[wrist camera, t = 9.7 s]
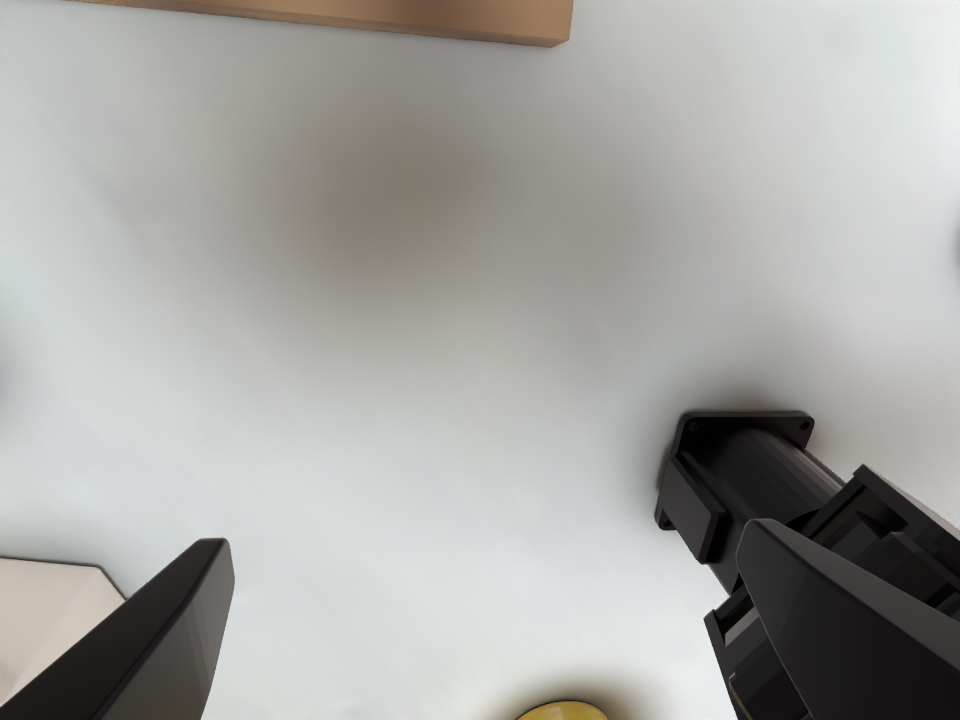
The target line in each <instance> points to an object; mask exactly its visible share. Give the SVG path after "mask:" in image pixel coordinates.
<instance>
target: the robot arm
mask: <svg viewBox="0 0 960 720" xmlns="http://www.w3.org/2000/svg"><path fill="white" fill-rule="evenodd" d="M692 422H695V423H694V425H692V426H690V427H689V425H690V424H691V423H692ZM802 422H803V423H802ZM801 423H802V424H801ZM814 423H815V422H814V419H813V418H812V417H810V416H809V415H808V414H806V413H804V412H692V413H688V414H686V415H684V416H683V417H682V418H681V420H680V422H679V426H678V430H677V434H676V438H675V442H674V446H673V449H672V453H671V456H670V458H669V459H668V462H667V466H666V470H665V474H664V477H663V481H662V485H661V489H660V493H659V497H658V502H659V504H658V508H657V512H656V516H655V521H656V523H657V525H658V526H659V528H660V529H662V530H666V531H667V530H677V531H678V532H679V534H680V535H681V537H682V539H683V540H684V542H685V543H686V545H687V546H688V548H689V549H690V551H691V552H692V554H693V555H694V557H695V558H696V560H697V561H698V562H699V563H700V564H701V565H704V564H708V565H709V567H710V568H711V570H712V571H713V573H714V574H715V576H716V577H717V579H718V580H719V582H720V583H721V585H722V586H723V588H724V589H725V590H726V592H727V593H728V595H729V596H730V597H729V598H728V599H727V600H726V601H725V602H724V603H723V604H722V605H720V606H719V607H718V608H717V609H716V610H714V609H713V610H712V611H711V612H709V613H708V614H707V615H706V616H705V617H704V622H705V625H706V628H707V631H708V634H709V637H710V640H711V643H712V646H713V649H714V652H715V655H716V658H717V661H718V664H719V667H720V670H721V673H722V676H723V679H724V682H725V685H726V688H727V691H728V694H729V697H730V700H731V703H732V705H733V707H734V710H735V713H736V716H737V719H738V720H960V530H958V529H957V528H956V527H954V526H953V525H952V524H950V523H949V522H948V521H946V520H945V519H943V518H942V517H941V516H939V515H938V514H937V513H935V512H934V511H933V510H931V509H930V508H928V507H927V506H925V505H924V504H922V503H921V502H919V501H918V500H916V499H915V498H913V497H912V496H910V495H909V494H907V493H906V492H904V491H903V490H901V489H900V488H898V487H897V486H896V485H894V484H893V483H891V482H890V481H888V480H887V479H885V478H884V477H882V476H881V475H879V474H878V473H876V472H875V471H873V470H872V469H870V468H869V467H867V466H866V465H864V464H862V465H861V466H860V467H859V468H858V469H857V470H856V471H855V472H854V473H853V475H854V477H853V478H852V479H851V480H850V481H849V482H848V483H845V482H844V481H843V480H842V479H841V478H839V477H838V476H837V475H836V474H835V473H834V472H832V471H831V470H830V469H829V468H828V467H826V466H825V465H824V464H823V463H822V462H820V461H819V460H818V459H817V458H816V457H814V456H813V455H812V454H811V453H810V452H808V451H807V450H806V449H805V448H806V446H807V443H808V440H809V438H810V435H811V432H812V430H813V427H814ZM800 424H801V425H800ZM666 519H668V520H666ZM665 520H666V521H665ZM234 583H235V576H234V569H233V563H232V557H231V550H230V545H229V542H228V540H227V539H225V538H203V539H199V540H198V541H196V542H195V543H193V544H192V545H191V546H190V547H189V548H188V549H186V550H185V551H184V552H183V553H182V554H180V555H179V556H178V557H177V558H176V559H175V560H173V561H172V562H171V563H170V564H169V565H167V566H166V567H165V568H164V569H163V570H162V571H160V572H159V573H158V574H157V575H156V576H154V577H153V578H152V579H151V580H150V581H149V582H147V583H146V584H145V585H144V586H143V587H141V588H140V589H139V590H138V591H137V592H136V593H134V594H133V595H132V596H131V597H130V598H128V599H127V600H126V601H125V602H124V603H123V604H121V605H120V606H119V607H118V608H117V609H115V610H114V611H113V612H112V613H111V614H110V615H108V616H107V617H106V618H105V619H104V620H102V621H101V622H100V623H99V624H98V625H97V626H95V627H94V628H93V629H92V630H91V631H89V632H88V633H87V634H86V635H85V636H84V637H82V638H81V639H80V640H79V641H78V642H76V643H75V644H74V645H73V646H72V647H71V648H69V649H68V650H67V651H66V652H65V653H63V654H62V655H61V656H60V657H59V658H57V659H56V660H55V661H54V662H53V663H52V664H50V665H49V666H48V667H47V668H46V669H44V670H43V671H42V672H41V673H40V674H39V675H37V676H36V677H35V678H34V679H33V680H31V681H30V682H29V683H28V684H27V685H26V686H24V687H23V688H22V689H21V690H20V691H18V692H17V693H16V694H15V695H14V696H13V697H11V698H10V699H9V700H8V701H7V702H5V703H4V704H3V705H2V706H1V707H0V720H201V717H202V714H203V711H204V708H205V705H206V702H207V699H208V696H209V693H210V689H211V686H212V682H213V678H214V674H215V669H216V665H217V661H218V656H219V652H220V648H221V643H222V639H223V635H224V630H225V626H226V622H227V617H228V613H229V609H230V604H231V600H232V596H233V591H234Z"/></svg>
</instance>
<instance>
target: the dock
mask: <svg viewBox="0 0 960 720" xmlns="http://www.w3.org/2000/svg"><path fill="white" fill-rule="evenodd" d="M67 1H78V2H88V3H98V4H109V5H119V6H129V7H140V8H150V9H160V10H171V11H181V12H191V13H202V14H212V15H222V16H232V17H243V18H253V19H263V20H274V21H284V22H294V23H305V24H315V25H325V26H336V27H346V28H356V29H367V30H377V31H387V32H397V33H408V34H418V35H428V36H439V37H449V38H459V39H470V40H480V41H490V42H501V43H511V44H521V45H532V46H542V47H554V46H557V45H559V44H561V43H563V42H565V41H568V40H569V34H570V25H571V17H572V8H573V0H67Z"/></svg>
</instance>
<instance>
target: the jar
mask: <svg viewBox="0 0 960 720" xmlns="http://www.w3.org/2000/svg"><path fill="white" fill-rule="evenodd" d="M124 602H125V600H124V599H123V597H122V596H121V595H120V594H119V592H118V591H117V590H116V589H115V587H114V586H113V585H112V584H111V582H110V581H109V580H108V579H107V577H106V576H105V575H104V574H103V572H102V571H101V570H100V569H99V568H96V567H87V566H77V565H66V564H56V563H45V562H35V561H24V560H14V559H4V558H0V707H1V706H2V705H3V704H4V703H5V702H7V701H8V700H9V699H10V698H11V697H13V696H14V695H15V694H16V693H17V692H18V691H20V690H21V689H22V688H23V687H24V686H26V685H27V684H28V683H29V682H30V681H31V680H33V679H34V678H35V677H36V676H37V675H39V674H40V673H41V672H42V671H43V670H44V669H46V668H47V667H48V666H49V665H50V664H52V663H53V662H54V661H55V660H56V659H57V658H59V657H60V656H61V655H62V654H63V653H65V652H66V651H67V650H68V649H69V648H71V647H72V646H73V645H74V644H75V643H76V642H78V641H79V640H80V639H81V638H82V637H84V636H85V635H86V634H87V633H88V632H89V631H91V630H92V629H93V628H94V627H95V626H97V625H98V624H99V623H100V622H101V621H102V620H104V619H105V618H106V617H107V616H108V615H110V614H111V613H112V612H113V611H114V610H115V609H117V608H118V607H119V606H120V605H121V604H123V603H124Z"/></svg>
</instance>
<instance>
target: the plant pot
mask: <svg viewBox="0 0 960 720" xmlns="http://www.w3.org/2000/svg"><path fill="white" fill-rule="evenodd" d="M518 720H608V719H607V717H606V716H605V715H604V714H603V713H602V711H600V710H599V709H598V708H596V707H595V706H592V705H590V704H587V703H583V702H576V701H563V702H555V703H550V704H546V705H543V706H540V707H537V708H535V709H533V710H531V711H529V712H528V713H526V714H524V715H523V716H522V717H520V718H519V719H518Z"/></svg>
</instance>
